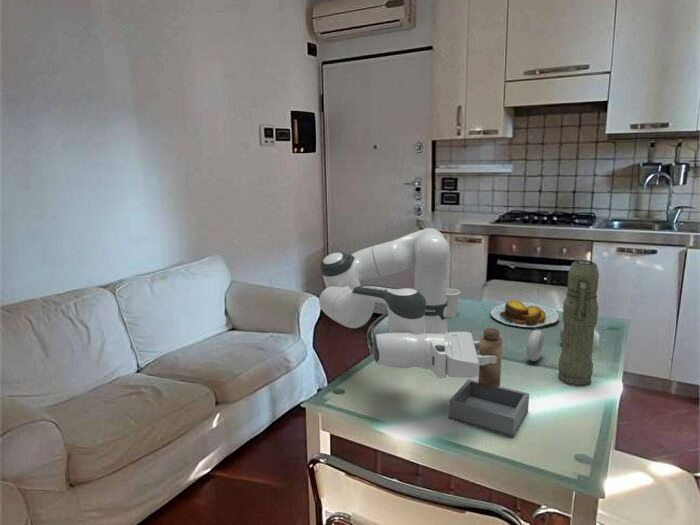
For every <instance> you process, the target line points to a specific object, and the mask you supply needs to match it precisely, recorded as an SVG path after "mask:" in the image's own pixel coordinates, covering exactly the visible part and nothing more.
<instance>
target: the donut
mask: <svg viewBox="0 0 700 525" xmlns="http://www.w3.org/2000/svg"><path fill="white" fill-rule="evenodd" d="M544 337H545V336H544V333H543V331H541V330H539V329H535V330H532V332H531V333H530V334H529V336H528V338H527V344H526V356H527V358H528V360H529V361H531V362H537V361H539V359H540V358H541V356H542V355H543V354H542V353H543V349H544V345H545V338H544Z"/></svg>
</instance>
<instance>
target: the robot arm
mask: <svg viewBox="0 0 700 525" xmlns="http://www.w3.org/2000/svg"><path fill="white" fill-rule="evenodd" d="M449 262H450V245H449V243H448V241H447V239H446V238H445V236H444V235H443V233H442V232H440V231H439V230H438V229H437V228H431V227H428V228H423V229H421V230H418V231H415V232H412V233H409V234H406V235H404V236H402V237H399V238H396V239H393V240H391V241H386V242H383V243H380V244H379V243H378V244H376V245H372V246H369V247H365V248H363V249H360V250H358V251H356V252H353V253H352V254H349V253H347V252H343V251H334V252H330V253H329V254H327V255H325V256H324V257H323V258H322V260H321V261H320V264H319V267H320V274H321V275H322V278H323V281H324V285H325V288H324V290H322V292H321V293H320V295H319V298H318V304H319V308H320V309H321V310H322V312H323V313H324V314H325V315H326V316H327V317H329V318H330V319H332V320H333V321H335V322H336V323H338V324H340V325H341V326H344V327H346V328H350V329H358V328H361V327H363V326H364V325H365V324H366V323H367V322H369V320H371V318H372V315H373V313H374V310H375V306H376V304H377V303H378V304H382V305H385V307H386V310H387V317H388V318H387V320H388V321H387V322H388V327H387V331H386V332H384V333H383V332H382V333H378V334H375V335H374V337H373V339H372V340H373V342H372V344H373V345H372V346H373V348H372V349H373V357H374V361H375V363H376V364H378V365H381V366H385V367H389V368H399V369H410V368H420V369H424V370H430V371H431V372H432V373H433V374H434V375H435V377H436V378H438V379H440V378H441V379H445V378H446V377H447V376H448V377H451V378H474V377H477V376H478V377H479V366H483V365H486V364H489V363H491V364H495V363H497V357H496V355H495V354H489V355H488V356H482V355H480V354H478V353H477V352H478V351H480V340H479V341H478V340H474V338H473V334H472V333H471V332H470V331H449V329H448V321H447V320H448V317H447V313H448V307H447V300H446V291H447V289H448V288H447V286H448V273H449V272H448V271H449V265H450V264H449ZM414 266H415V268H414V288H406V287H405V288H404V287H402V288H401V287H389V286H383V285H375V284H362V285H361V282H360V281H367V280H373V279H374V280H375V279H377V278H378V279H379V278H382V277H385V276H389V275H392V274H393V275H394V274H397V273H400V272H404V271H405V270H407V269H409V268H411V267H414Z"/></svg>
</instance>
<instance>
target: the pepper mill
mask: <svg viewBox="0 0 700 525" xmlns="http://www.w3.org/2000/svg"><path fill="white" fill-rule="evenodd" d="M479 342H480V350H479V355H482V356H488V355H489V354H495V355H496V357H497V363H495V364H491V363H489V364H486V365H483V366H479V375H478V381H479V382H478V383H479V385H480V386H482V387H485V388H498V387H499V386H500V387H501V374H502V372H501V371H502V351H503V338H502V337H501V336H500V330H499V329H497V328H493V327H492V328H490V327H486V328H484V329H483V334H482V335H481V336H480V337H479Z"/></svg>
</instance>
